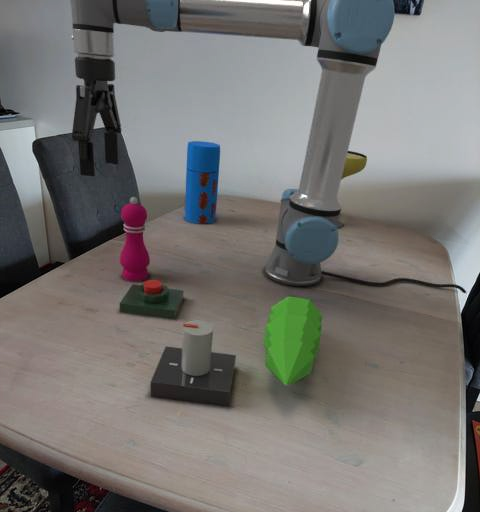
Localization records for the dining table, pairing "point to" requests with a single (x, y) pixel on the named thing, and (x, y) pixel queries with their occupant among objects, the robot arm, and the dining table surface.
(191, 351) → the knob
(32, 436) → the dining table surface
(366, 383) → the dining table surface
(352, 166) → the cocktail glass
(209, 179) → the thermos
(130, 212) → the pepper mill
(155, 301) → the button box
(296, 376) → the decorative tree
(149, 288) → the button
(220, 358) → the panel
